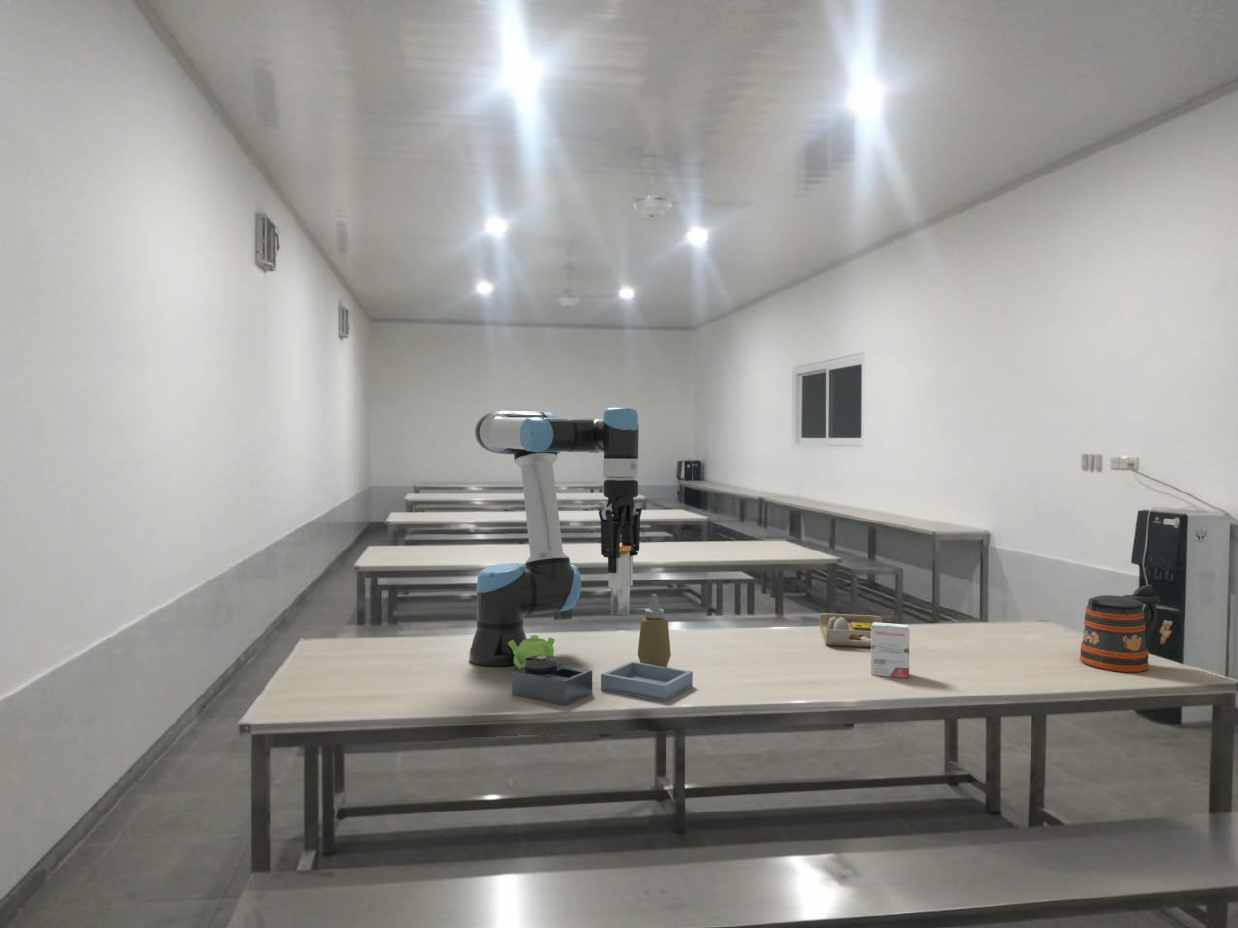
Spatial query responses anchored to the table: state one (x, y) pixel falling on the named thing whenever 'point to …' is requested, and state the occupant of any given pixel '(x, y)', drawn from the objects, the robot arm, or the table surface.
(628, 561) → the glass jar with lid
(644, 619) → the squeeze bottle
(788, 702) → the table surface
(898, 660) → the ink box
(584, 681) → the grey boxy piece
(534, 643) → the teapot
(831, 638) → the toy food set
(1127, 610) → the beer stein
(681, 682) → the parts tray
